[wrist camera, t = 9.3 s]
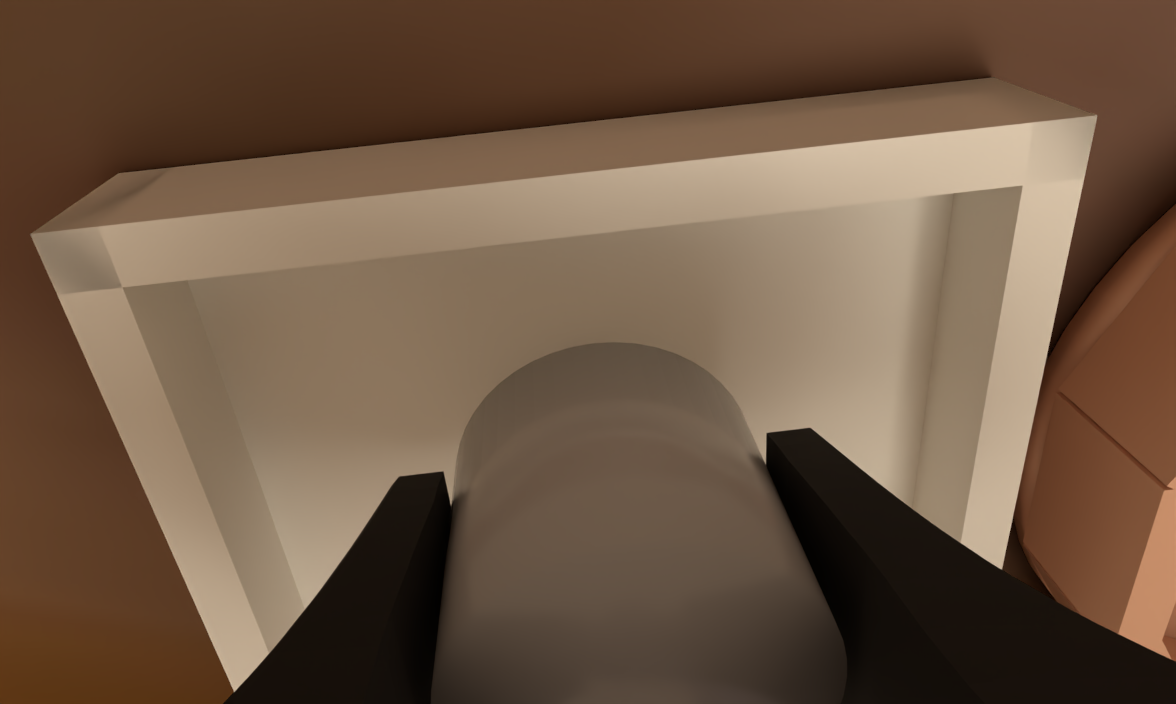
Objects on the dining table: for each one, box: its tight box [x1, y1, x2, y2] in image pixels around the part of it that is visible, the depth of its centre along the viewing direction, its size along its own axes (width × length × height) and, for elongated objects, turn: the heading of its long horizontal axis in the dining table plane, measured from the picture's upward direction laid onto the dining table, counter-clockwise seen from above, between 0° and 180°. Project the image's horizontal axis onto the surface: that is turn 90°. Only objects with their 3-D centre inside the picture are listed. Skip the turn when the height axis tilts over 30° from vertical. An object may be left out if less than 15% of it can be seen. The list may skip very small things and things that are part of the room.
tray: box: [30, 77, 1097, 692], centre depth 15 cm, size 18×13×2 cm
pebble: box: [431, 342, 847, 704], centre depth 10 cm, size 4×4×4 cm
